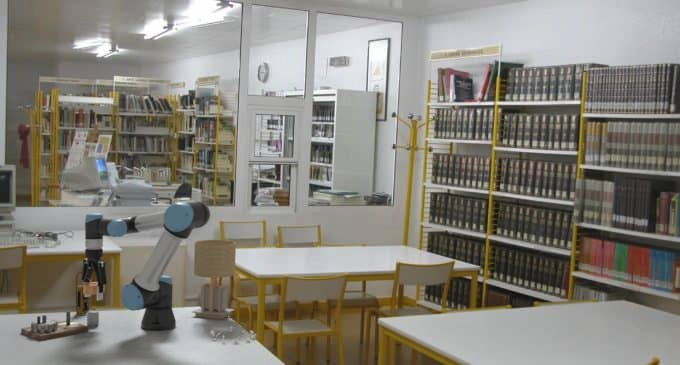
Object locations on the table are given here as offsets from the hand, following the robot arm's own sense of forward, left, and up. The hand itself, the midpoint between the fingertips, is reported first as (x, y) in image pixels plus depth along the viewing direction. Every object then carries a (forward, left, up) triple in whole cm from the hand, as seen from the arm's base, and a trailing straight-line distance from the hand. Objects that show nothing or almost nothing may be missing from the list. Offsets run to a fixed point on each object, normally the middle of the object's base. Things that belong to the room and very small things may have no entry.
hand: (93, 298), depth 335 cm
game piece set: (-58, -31, -13) cm, 67 cm away
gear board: (0, +18, -12) cm, 22 cm away
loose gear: (0, 0, +3) cm, 3 cm away
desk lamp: (-21, -52, -12) cm, 57 cm away
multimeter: (+22, -12, -12) cm, 28 cm away
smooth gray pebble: (0, 0, -12) cm, 12 cm away
